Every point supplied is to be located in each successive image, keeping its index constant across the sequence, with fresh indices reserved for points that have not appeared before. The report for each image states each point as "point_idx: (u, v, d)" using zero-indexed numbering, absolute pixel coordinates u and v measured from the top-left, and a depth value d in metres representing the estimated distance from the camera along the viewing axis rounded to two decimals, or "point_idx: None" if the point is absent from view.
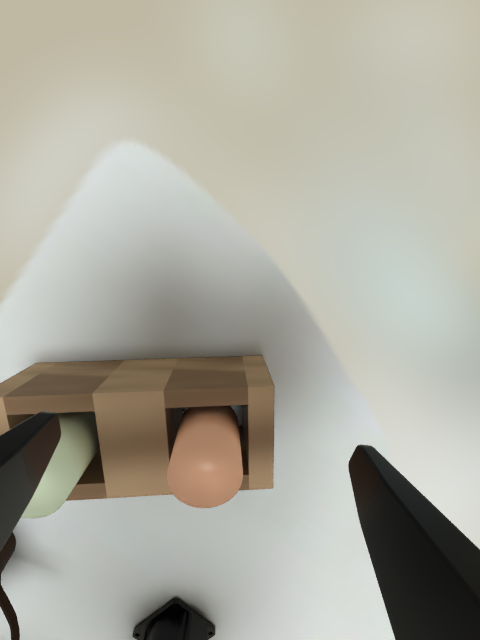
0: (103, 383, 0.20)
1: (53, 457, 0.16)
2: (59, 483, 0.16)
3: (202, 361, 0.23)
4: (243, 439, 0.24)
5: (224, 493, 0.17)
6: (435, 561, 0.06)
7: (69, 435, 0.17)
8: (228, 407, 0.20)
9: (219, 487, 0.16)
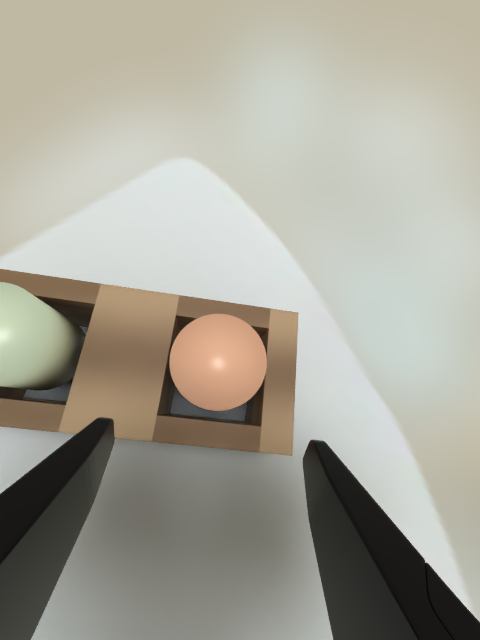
0: None
1: (38, 301, 0.13)
2: (29, 333, 0.12)
3: None
4: None
5: (239, 390, 0.12)
6: (364, 556, 0.06)
7: (57, 313, 0.14)
8: None
9: (234, 379, 0.12)
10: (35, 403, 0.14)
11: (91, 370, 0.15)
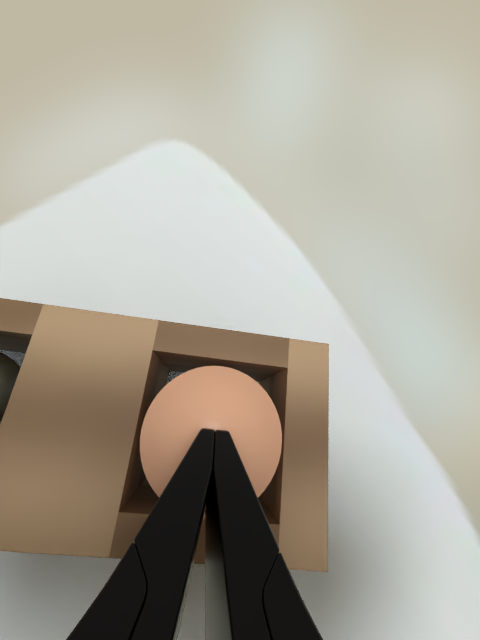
0: None
1: None
2: None
3: None
4: None
5: None
6: (219, 546, 0.05)
7: None
8: None
9: None
10: None
11: (19, 440, 0.10)
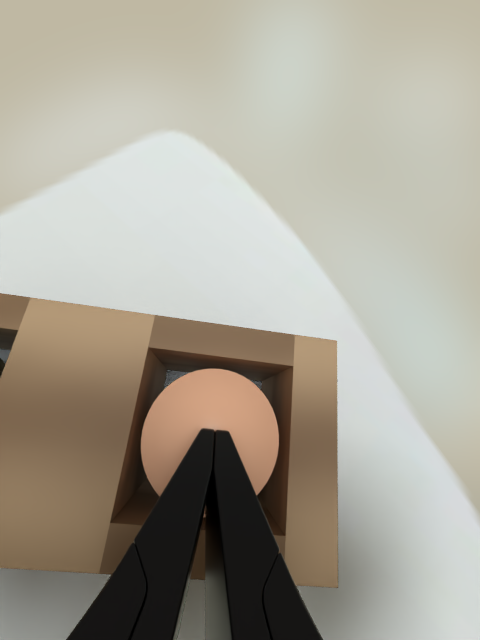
0: None
1: None
2: None
3: None
4: (258, 498, 0.13)
5: None
6: (219, 546, 0.05)
7: None
8: None
9: None
10: None
11: (2, 444, 0.09)
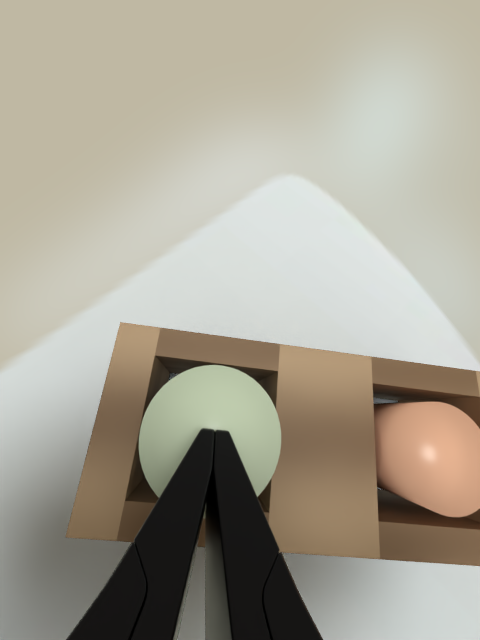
0: None
1: (262, 389, 0.10)
2: (267, 439, 0.09)
3: None
4: None
5: (473, 492, 0.11)
6: (219, 546, 0.05)
7: None
8: None
9: (465, 479, 0.12)
10: None
11: (290, 462, 0.12)
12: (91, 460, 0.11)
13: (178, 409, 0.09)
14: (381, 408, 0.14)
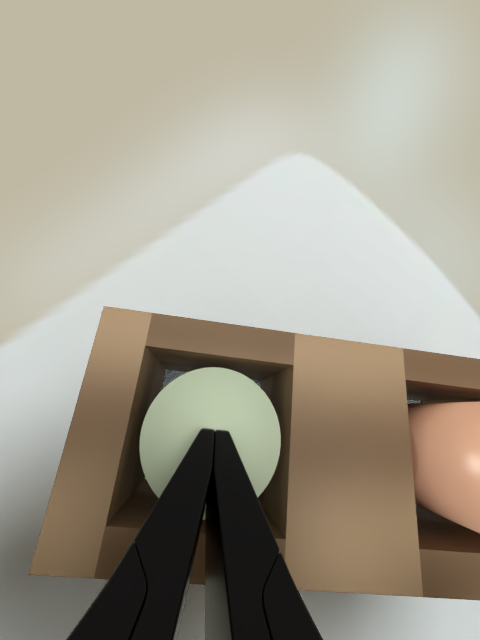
0: None
1: (262, 391, 0.10)
2: (267, 441, 0.09)
3: None
4: None
5: None
6: (219, 546, 0.05)
7: None
8: None
9: None
10: None
11: (310, 475, 0.09)
12: (65, 474, 0.09)
13: (178, 411, 0.09)
14: (412, 409, 0.12)
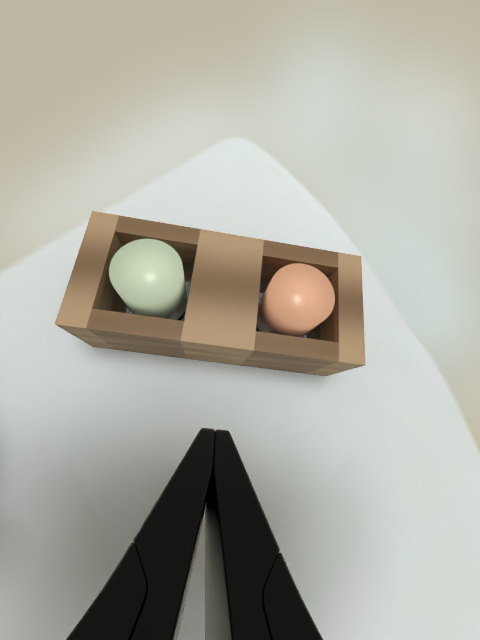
0: None
1: (176, 253, 0.18)
2: (175, 273, 0.17)
3: None
4: None
5: (318, 314, 0.18)
6: (219, 546, 0.05)
7: None
8: None
9: (313, 306, 0.18)
10: (160, 319, 0.17)
11: (200, 295, 0.18)
12: (71, 286, 0.17)
13: (129, 257, 0.17)
14: None
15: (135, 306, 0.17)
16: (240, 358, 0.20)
